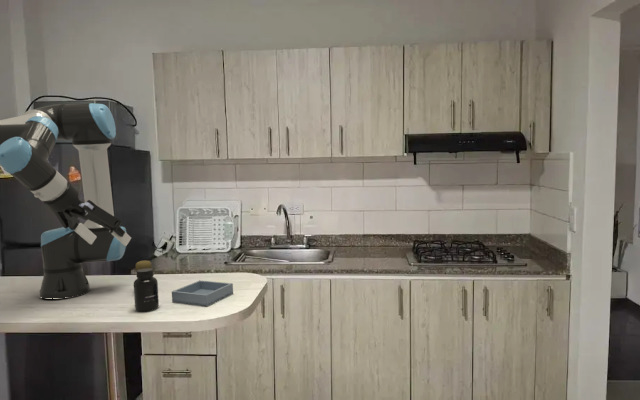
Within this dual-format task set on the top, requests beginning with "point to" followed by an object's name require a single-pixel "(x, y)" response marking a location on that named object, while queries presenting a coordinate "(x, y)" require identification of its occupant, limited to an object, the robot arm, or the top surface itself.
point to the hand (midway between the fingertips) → (110, 241)
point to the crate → (202, 293)
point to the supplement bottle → (146, 291)
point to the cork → (143, 265)
